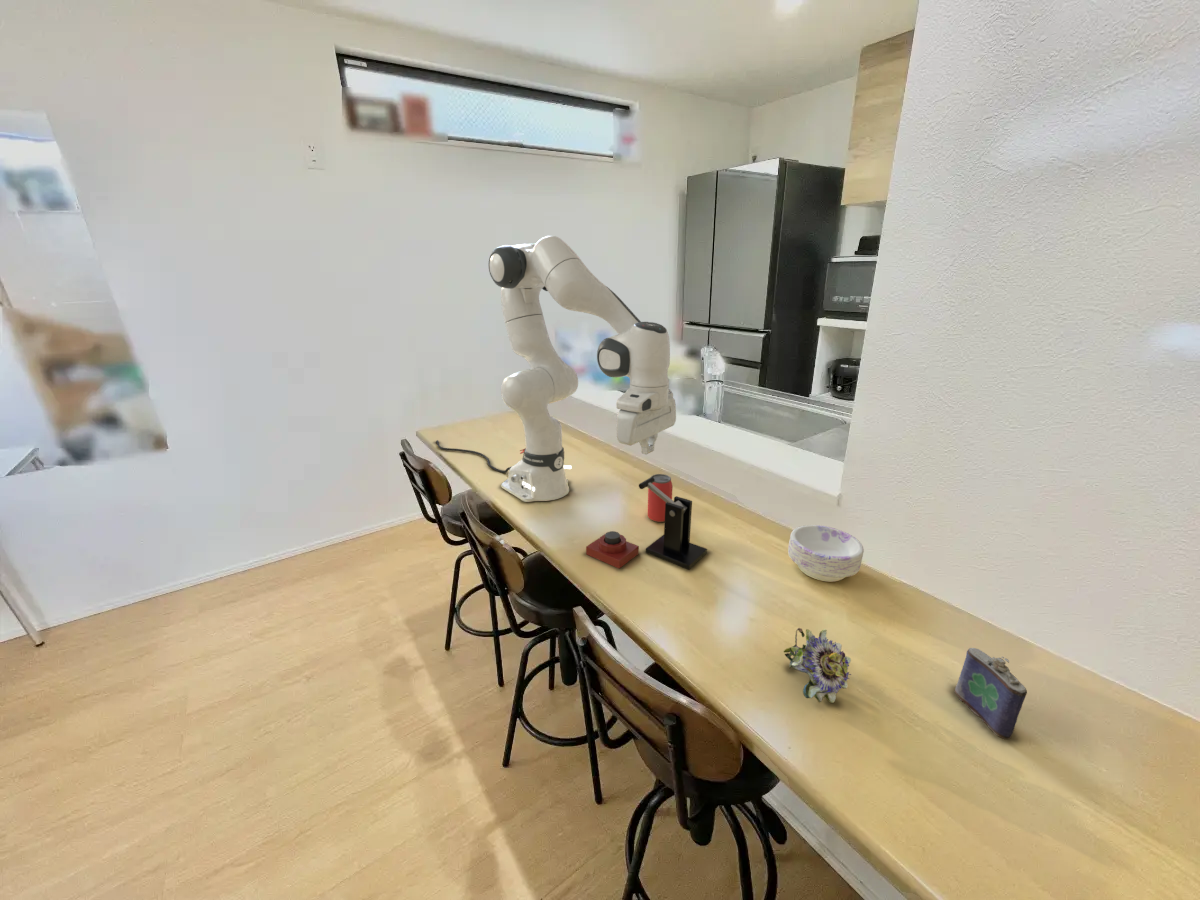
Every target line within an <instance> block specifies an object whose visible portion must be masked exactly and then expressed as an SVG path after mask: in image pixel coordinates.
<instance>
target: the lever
mask: <svg viewBox="0 0 1200 900" xmlns="http://www.w3.org/2000/svg"><path fill="white" fill-rule="evenodd" d="M654 481H655V479H654V478H653V477H651V476H650V477H649V478H647V479H645V480H644V481H642V482H640V483H638V489H640V490H644V489H645V488H647V489H648V488H649V489H650V490H651V491H653V492H654V493H655V494H656V495H657V496H659V497H660V498H661V499H662V500H664V501H665V502H666V503H667V502H669V503H672V504H675V505H679V506H682V507H684V512H685V511H686V509H687V507H686V506H685V505H684V504H682V503H681V502H680V501H679V500H678V501H676V502H674V499H672V500H671V499H670V498H669V497H668V496H667V495H665V494H664V493H663V492H662V491H660V490H659V489H658V488H657V487H655V486H654V485H653V484H652V483H654ZM683 514H684V513H683Z"/></svg>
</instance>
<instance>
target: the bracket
mask: <svg viewBox="0 0 1200 900" xmlns="http://www.w3.org/2000/svg"><path fill="white" fill-rule="evenodd" d="M678 500H679V501H680V502H681V503H682V504H684V505H685V506H686V507H687V509H686V511H685V512H684V507H682V506H679V505H675V504H672V503H669V502H667V503H665V521H664V527H663V535H661V536H660V537H659V538H658V539H656V540H655V541H653V542H652V543H651V544H649V545H648V546H647V547H646V548H645V554H648V555H651V556H654V557H656V558H659V559H661V560H664V561H665V562H669V563H671V564H673V565H676V566H678V567H681V568H684V569H686V570H690V569H692V567H694V566H695V565H696V564H697V563H698V562H699V561H700V560H701V559H702V558H703V557H704V556H706V555H707V553H708V548H706V547H704V546H700V545H698V544H694V543H692V542H690V541H691V526H692V512H693V511H692V509H693V501H692V500H690V499H688V498H684V497H680V496H674V497H673V501H674V502H676V501H678ZM683 513H684V514H683Z"/></svg>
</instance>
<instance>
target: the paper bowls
mask: <svg viewBox="0 0 1200 900" xmlns="http://www.w3.org/2000/svg"><path fill="white" fill-rule="evenodd" d="M864 552H865V549H864V546H863V544H862V542H861V541H859V539H858V538H856V537H855V536H853V535H852V534H849V532H846V531H843V530H841V529H838V528H834V527H831V526H827V525H820V524H819V525H818V524H807V525H806V524H805V525H801V526H798V527H795V528H794V529H793V530H792V531H791V532H790V535H789V541H788V547H787V555H788V557H789V558H790V559H791V561H792V562H793V563H795V565H797V567H798V569H799V570H800V571H801V572H802V573H803V574H804V575H806V576H808V577H810V578H811V579H815V580H818V581H820V582H831V583H834V582H838V581H842V580H843V579H845V578H849V577H852V576H855V575H856V574H858V573H859V572H860V570H861V567H862V561H863V557H864Z"/></svg>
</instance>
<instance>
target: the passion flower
mask: <svg viewBox="0 0 1200 900" xmlns="http://www.w3.org/2000/svg"><path fill="white" fill-rule="evenodd" d="M827 631H828V630H827V629H826V628H823V629H822V630H821V631H819V634H818V637H816V635H815V634H813V632H812V630H811V629H808V628H806V630H805V632H804V631H803V628H800V627H798V628H797V629H796V631H795V637H794V638H795V641H794V645H793V646H791V647H788V648H785V649H784V650H783V653H784V656H785V657H786V658H787V659H788V660H789V669H793V670H795V671H798V672H800V673H804V674H807V676H808V677H809V680H808V682H807V684H805V685H804V687H803V689H802V693H803V696H804V697H805V699H812V698H813V697H815V698H814V699H816V700H817V702H818V703H822V701H823V698H825V699H826V700H827V702H829V703H830V704H834V703H835V702H836V698H837V693H838V692H839V690H841V689H847V688H848V680H850V678H849V676H851V675H852V674H851V673H850V671H848V670H849V667H850V663H851V662H852V659H851V657H850V656H847V655H846V653H845V652H844V650H842V647H843V644H841V643H840V642H836V641H835V642H833V640H832V639H830V640H829V638H828V637H827ZM798 632H799V633H800V635H801V637H802V638H804V637H805V644H804V643H803V644H802V646H801V647H800V646H798V638H797V637H798Z"/></svg>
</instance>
